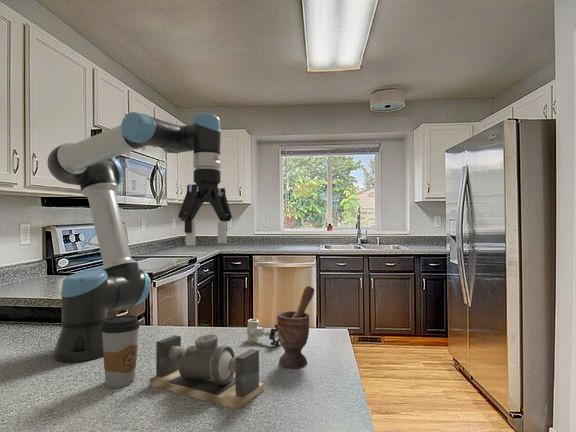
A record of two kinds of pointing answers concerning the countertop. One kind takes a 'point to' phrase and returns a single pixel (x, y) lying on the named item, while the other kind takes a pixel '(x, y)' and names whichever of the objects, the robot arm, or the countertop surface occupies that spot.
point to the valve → (261, 332)
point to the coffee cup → (120, 349)
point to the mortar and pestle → (294, 332)
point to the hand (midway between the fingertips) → (207, 244)
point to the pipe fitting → (207, 361)
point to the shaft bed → (205, 389)
